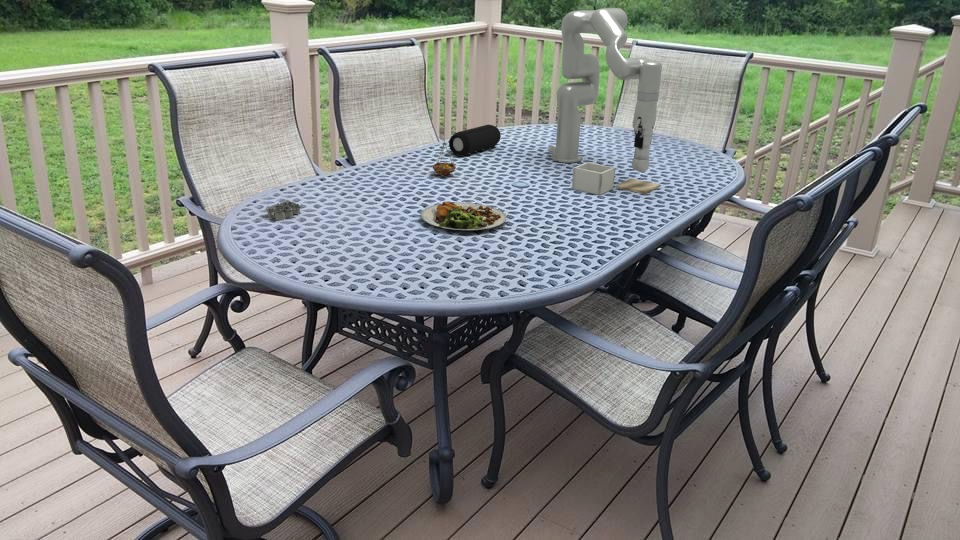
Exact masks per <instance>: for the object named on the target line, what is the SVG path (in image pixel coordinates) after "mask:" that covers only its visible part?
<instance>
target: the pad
mask: <svg viewBox="0 0 960 540" xmlns="http://www.w3.org/2000/svg"><path fill="white" fill-rule="evenodd" d="M615 188H616V189H621V190H625V191H628V190H629V192H634V193H639V194H643V195H647V194H649V193H650V192H653V191H654V190H657V189H658V188H660V184H658V183H654V182H650V181H644V180H640V179H635V178H629V179H627V180H625V181H622V182H620V183H618V184H616V185H615Z"/></svg>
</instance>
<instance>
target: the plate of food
mask: <svg viewBox="0 0 960 540" xmlns="http://www.w3.org/2000/svg"><path fill="white" fill-rule="evenodd" d="M420 217H421V219H422V220H423V221H425V222H426V224H427V223H428V224H429V225H431V226H436V227H439V228H441V229H448V230H454V231H455V230H457V231H479V230H485V229H492V228H495V227H498V226H500V225H502V224H504V223H505V222H506V220H507V218H508V217H507V214H506V213H504V212H503V211H502V210H500V209H499V208H497V207H493V206H490V205H486V204H479V203H473V202H464V201H463V202H461V201H460V202H458V201H457V202H456V201H455V202H453V201H452V202H451V201H443V202H442V203H438V204H433V205H430V206H427V207H425V208H423V209H422V210H421V212H420Z"/></svg>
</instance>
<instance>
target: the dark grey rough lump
mask: <svg viewBox="0 0 960 540" xmlns="http://www.w3.org/2000/svg"><path fill="white" fill-rule="evenodd" d="M302 207H303V205H299V203H296V202H294V201H290V200H289V199H286V200H285V201H284V200H283V201H282V202H279V203H278V202H277V203H276V204H273V205H271V206H269V205H268V206H266V207H265V209H264V211H265V212H267V218H268V219H270V218H271V219H275V221H277V220H279V221H285V220H286V219H287V218H286V217H288V218H290V217H291V218H293V217H292V216H294V215H293V214H296V213H297V214H298V213H300V214H301V209H302ZM291 208H292V210H291ZM284 219H285V220H284Z"/></svg>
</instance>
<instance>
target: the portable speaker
mask: <svg viewBox="0 0 960 540" xmlns="http://www.w3.org/2000/svg"><path fill="white" fill-rule="evenodd" d="M501 136H502V135H501V130H500V129H499V128H498V127H497V126H495V125H493V124H484V125H481V126H477V127H472V128H469V129H465V130H460V131H457V132H455V133H454V134H452V135H451V137H450V138H449V139H448V140H449V141H448V146H449V150H450V151H451V152H452V154H454V155H456V154H457V156H460V155H464V156H467V155H470V154H469V153H471V154H474V153H476V152H475V151H478V152H480V151H479V150H481V151H483V150H482V149H485V150H487V149H486V148H488V149H491V148H493V147H496V146H497V145H498V143H500V140H501ZM490 147H491V148H490ZM473 152H474V153H473ZM466 154H467V155H466Z"/></svg>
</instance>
